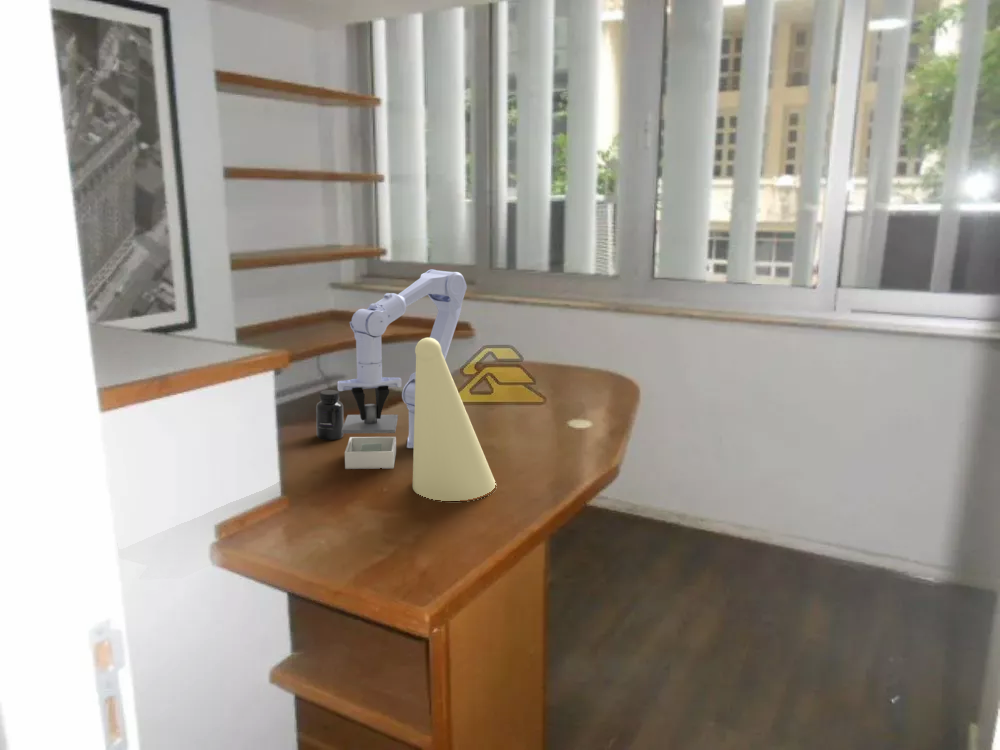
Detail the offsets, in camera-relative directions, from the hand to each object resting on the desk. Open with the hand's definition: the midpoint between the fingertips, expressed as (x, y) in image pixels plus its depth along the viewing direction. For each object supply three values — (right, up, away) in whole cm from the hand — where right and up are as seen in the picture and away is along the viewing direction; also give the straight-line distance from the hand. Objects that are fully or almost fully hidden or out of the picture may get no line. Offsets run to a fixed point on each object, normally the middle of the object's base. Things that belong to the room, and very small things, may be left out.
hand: (370, 418), depth 176 cm
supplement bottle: (-14, -6, +19) cm, 24 cm away
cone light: (+19, -15, -15) cm, 28 cm away
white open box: (0, -10, +2) cm, 10 cm away
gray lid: (0, -2, 0) cm, 2 cm away
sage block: (0, -10, +2) cm, 10 cm away
